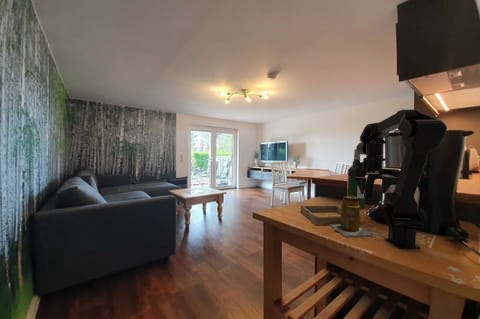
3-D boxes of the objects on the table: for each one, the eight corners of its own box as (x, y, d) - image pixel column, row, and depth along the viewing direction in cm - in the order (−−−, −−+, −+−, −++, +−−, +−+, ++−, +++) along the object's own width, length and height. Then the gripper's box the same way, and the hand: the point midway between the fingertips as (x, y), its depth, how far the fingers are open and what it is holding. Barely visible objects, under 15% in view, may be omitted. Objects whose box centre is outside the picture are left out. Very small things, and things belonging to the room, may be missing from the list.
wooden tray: (360, 224, 80) (360, 216, 80) (316, 225, 79) (316, 218, 78) (337, 211, 96) (337, 205, 96) (300, 212, 95) (300, 206, 95)
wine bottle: (351, 203, 110) (353, 149, 108) (367, 207, 103) (369, 149, 102) (344, 206, 105) (345, 149, 103) (360, 209, 99) (362, 149, 97)
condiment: (362, 229, 74) (364, 197, 73) (355, 236, 68) (357, 201, 67) (342, 223, 79) (342, 193, 78) (333, 229, 73) (334, 197, 72)
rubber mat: (372, 236, 69) (372, 234, 69) (345, 237, 68) (345, 235, 68) (354, 225, 79) (354, 223, 79) (329, 225, 78) (329, 224, 78)
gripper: (380, 154, 89) (379, 189, 90) (340, 154, 87) (339, 190, 88) (403, 155, 78) (401, 195, 79) (357, 155, 76) (356, 196, 77)
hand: (373, 193), depth 81 cm, fingers open, 9 cm apart
